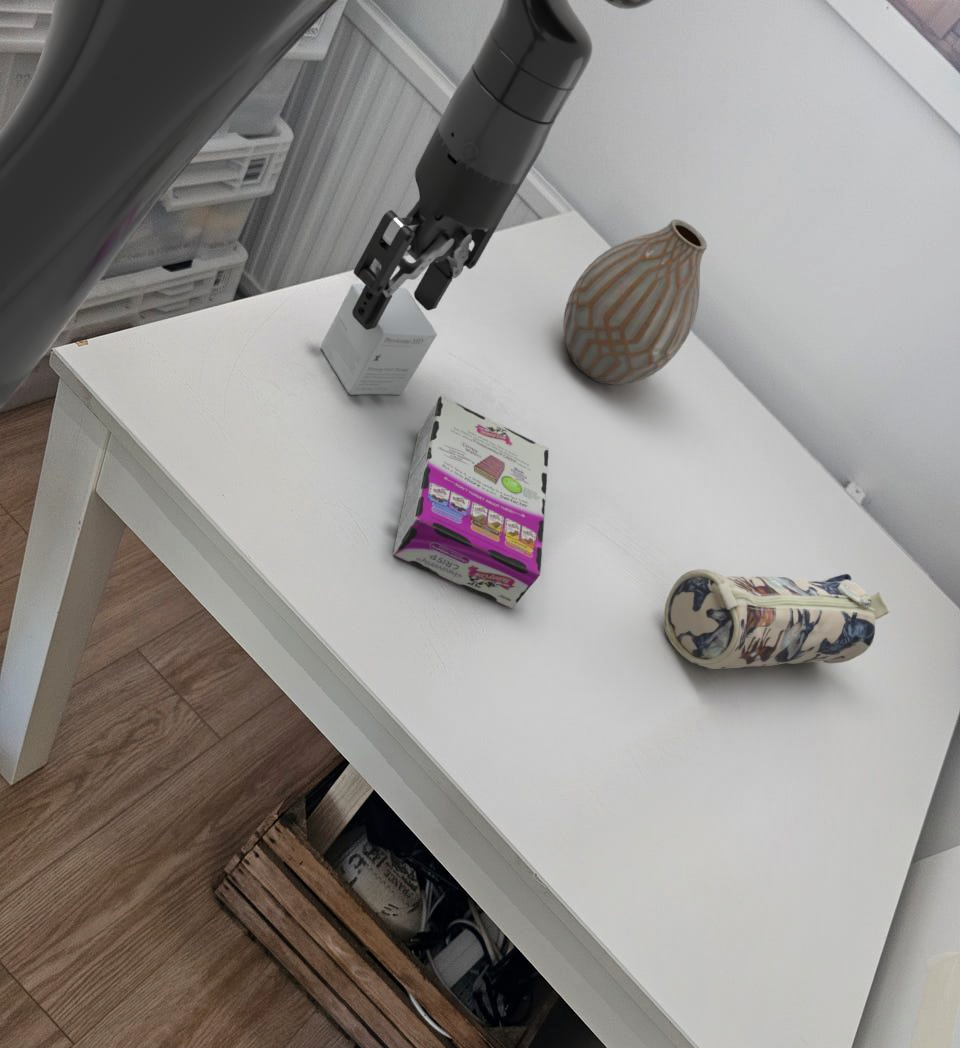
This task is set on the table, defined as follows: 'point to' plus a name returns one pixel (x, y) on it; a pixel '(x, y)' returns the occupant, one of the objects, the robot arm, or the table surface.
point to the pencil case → (769, 619)
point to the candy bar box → (475, 504)
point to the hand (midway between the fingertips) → (393, 312)
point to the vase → (635, 305)
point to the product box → (378, 345)
